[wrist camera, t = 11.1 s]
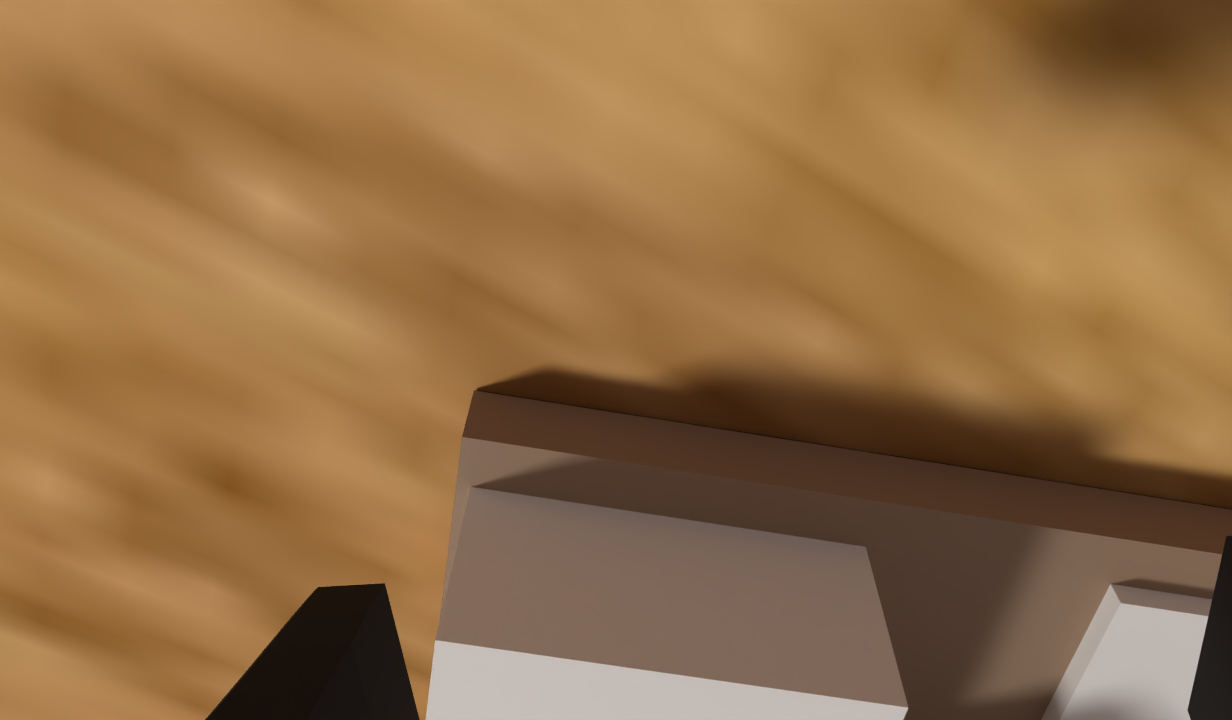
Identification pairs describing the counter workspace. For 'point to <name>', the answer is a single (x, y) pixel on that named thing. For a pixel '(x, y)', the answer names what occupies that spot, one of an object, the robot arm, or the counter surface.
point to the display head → (800, 582)
